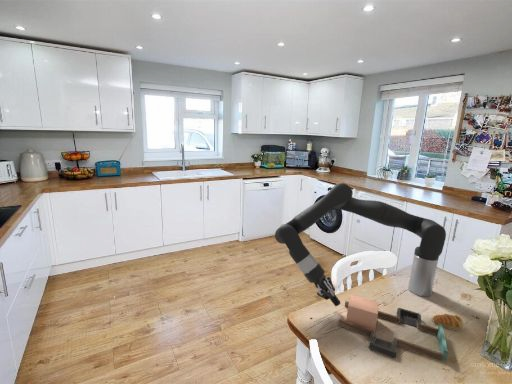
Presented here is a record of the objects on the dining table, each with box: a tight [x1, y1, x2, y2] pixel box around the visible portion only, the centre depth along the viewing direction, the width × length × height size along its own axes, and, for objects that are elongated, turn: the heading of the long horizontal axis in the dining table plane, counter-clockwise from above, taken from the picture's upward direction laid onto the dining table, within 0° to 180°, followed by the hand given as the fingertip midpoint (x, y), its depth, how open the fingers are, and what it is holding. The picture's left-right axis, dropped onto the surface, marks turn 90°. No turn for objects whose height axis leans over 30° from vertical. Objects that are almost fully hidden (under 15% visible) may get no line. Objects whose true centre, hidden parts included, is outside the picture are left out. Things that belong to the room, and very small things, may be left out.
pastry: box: [431, 313, 464, 332], centre depth 104 cm, size 9×7×4 cm
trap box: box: [338, 300, 449, 363], centre depth 99 cm, size 27×33×4 cm
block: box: [345, 294, 379, 332], centre depth 103 cm, size 8×10×8 cm
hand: (338, 304), depth 107 cm, fingers closed
